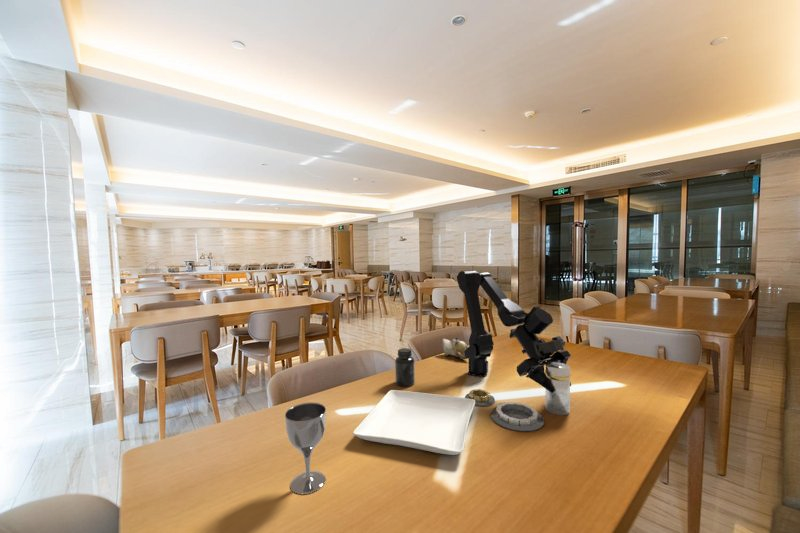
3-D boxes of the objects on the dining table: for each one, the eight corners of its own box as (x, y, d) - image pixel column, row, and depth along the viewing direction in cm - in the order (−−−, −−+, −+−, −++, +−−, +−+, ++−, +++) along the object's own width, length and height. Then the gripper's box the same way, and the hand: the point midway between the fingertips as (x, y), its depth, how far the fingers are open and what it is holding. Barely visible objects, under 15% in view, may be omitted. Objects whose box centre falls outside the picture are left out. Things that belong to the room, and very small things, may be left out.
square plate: (476, 410, 99) (476, 397, 99) (462, 468, 73) (462, 451, 73) (390, 398, 108) (390, 387, 107) (351, 446, 82) (350, 431, 82)
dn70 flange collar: (485, 424, 90) (485, 417, 90) (496, 402, 103) (495, 396, 103) (542, 436, 84) (542, 428, 84) (545, 412, 96) (545, 405, 96)
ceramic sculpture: (447, 332, 155) (479, 338, 147) (447, 350, 156) (478, 357, 148) (437, 337, 146) (469, 344, 138) (436, 357, 147) (468, 365, 139)
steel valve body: (544, 412, 96) (544, 367, 95) (545, 402, 102) (545, 360, 101) (570, 417, 93) (570, 371, 92) (570, 406, 99) (570, 363, 98)
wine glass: (292, 470, 73) (290, 403, 72) (330, 468, 73) (328, 401, 72) (283, 498, 65) (280, 422, 64) (325, 494, 65) (322, 419, 65)
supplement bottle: (410, 378, 123) (410, 346, 123) (417, 385, 117) (417, 351, 116) (393, 381, 121) (392, 348, 120) (399, 388, 115) (398, 354, 114)
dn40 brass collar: (461, 402, 103) (461, 396, 103) (469, 391, 111) (469, 385, 111) (491, 408, 99) (491, 402, 99) (497, 396, 107) (497, 390, 107)
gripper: (524, 332, 95) (559, 383, 86) (565, 324, 104) (601, 369, 95) (503, 352, 103) (533, 401, 94) (543, 343, 112) (574, 386, 103)
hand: (561, 389), depth 96 cm, fingers open, 7 cm apart
